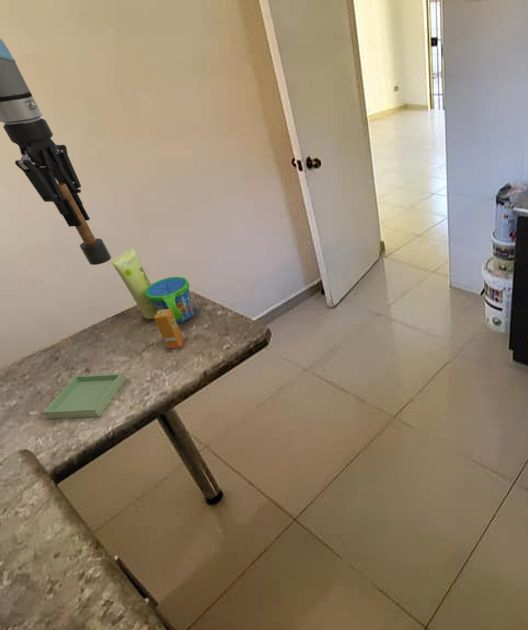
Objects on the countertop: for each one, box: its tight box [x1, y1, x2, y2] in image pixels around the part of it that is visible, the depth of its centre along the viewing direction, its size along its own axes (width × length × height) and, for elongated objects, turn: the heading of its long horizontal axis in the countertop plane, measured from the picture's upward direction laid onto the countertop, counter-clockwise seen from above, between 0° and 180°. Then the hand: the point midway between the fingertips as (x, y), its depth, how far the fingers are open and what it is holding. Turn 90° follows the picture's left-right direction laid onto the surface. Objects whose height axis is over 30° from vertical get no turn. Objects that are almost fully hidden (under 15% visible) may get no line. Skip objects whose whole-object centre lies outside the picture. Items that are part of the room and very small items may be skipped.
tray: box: [42, 372, 127, 420], centre depth 97 cm, size 11×11×2 cm
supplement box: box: [153, 309, 185, 350], centre depth 109 cm, size 3×4×10 cm
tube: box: [110, 247, 158, 320], centre depth 117 cm, size 6×5×20 cm
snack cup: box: [145, 276, 195, 324], centre depth 119 cm, size 16×10×10 cm
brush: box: [58, 183, 112, 266], centre depth 107 cm, size 5×5×20 cm
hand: (79, 222), depth 107 cm, fingers closed on brush, 3 cm apart
